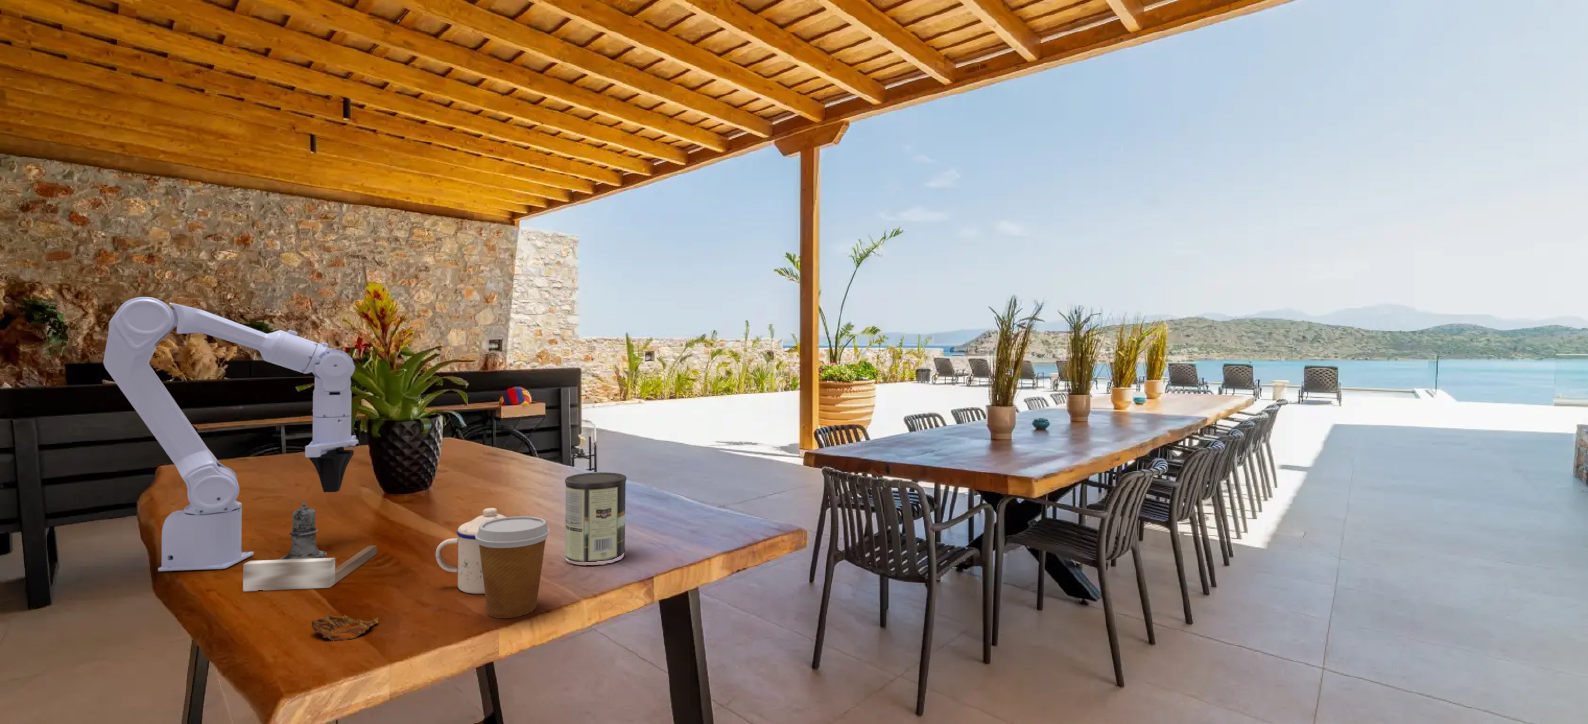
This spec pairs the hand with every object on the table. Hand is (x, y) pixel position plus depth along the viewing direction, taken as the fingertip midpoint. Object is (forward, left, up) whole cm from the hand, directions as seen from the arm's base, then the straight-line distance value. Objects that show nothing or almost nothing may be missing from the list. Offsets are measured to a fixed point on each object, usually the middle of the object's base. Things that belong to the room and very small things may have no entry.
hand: (331, 491), depth 122 cm
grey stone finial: (+4, -18, -10) cm, 21 cm away
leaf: (+19, -40, -10) cm, 46 cm away
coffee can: (+47, -13, -10) cm, 50 cm away
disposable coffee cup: (+38, -36, -10) cm, 53 cm away
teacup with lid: (+31, -25, -10) cm, 41 cm away
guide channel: (+4, -14, -10) cm, 18 cm away
